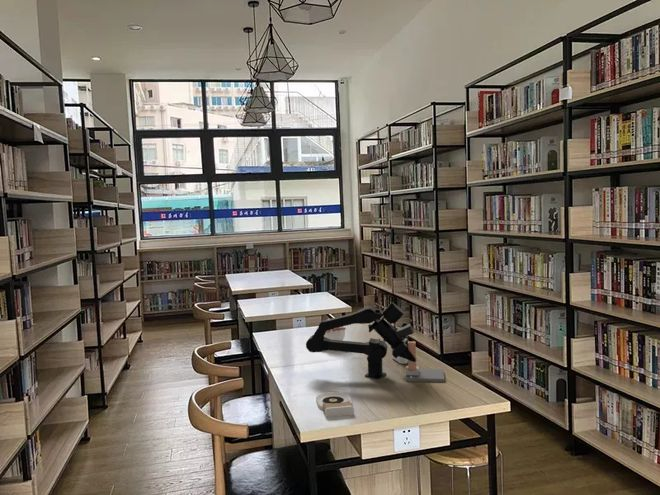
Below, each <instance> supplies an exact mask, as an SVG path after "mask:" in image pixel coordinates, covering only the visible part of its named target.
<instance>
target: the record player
mask: <svg viewBox="0 0 660 495" xmlns="http://www.w3.org/2000/svg"><path fill="white" fill-rule="evenodd" d="M315 402H316V405H317V407H318V409H320V410H322V411H323V413H324V415H325V418H333V417H341V416H353V415H355V408H354V407H353V401H352V399H351V397H350V395H349V394H348V393H345V392H339V391H329V392H324V393H320V394H318V395H317V396H316V397H315Z"/></svg>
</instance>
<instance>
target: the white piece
mask: <svg viewBox="0 0 660 495" xmlns="http://www.w3.org/2000/svg"><path fill="white" fill-rule="evenodd" d="M328 319H329V318H327V319H326V320H328ZM346 330H347V328H346V326H343V327H339V328H334V329H330V330H327V331H326V333H325V335H324V337H326V338H328V339H331V340H342V341H344V339H345V337H346Z"/></svg>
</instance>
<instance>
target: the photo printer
mask: <svg viewBox="0 0 660 495" xmlns="http://www.w3.org/2000/svg"><path fill="white" fill-rule="evenodd" d="M407 340H408V338H405V339H404V340H403V341H405V342H406V341H407ZM391 359H392V360H395V361H396V362H397V363H399V364H401V365H404V364H405V365H406V364H408V360H407V359H405V358H402V357H399V356H398V357H397V358H395V357H394V356H393V355H392V354H391Z"/></svg>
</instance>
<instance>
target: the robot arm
mask: <svg viewBox="0 0 660 495" xmlns="http://www.w3.org/2000/svg"><path fill="white" fill-rule="evenodd" d="M404 315H405V312H404V311H403V309H402V308H401V307H400V306H398V305H397V304H395V303H394V302H393V301H391V302H390V303H389V304H388V306H387V307H386V308H385V309H376V308H375V307H373V306H371V305H370V306H369V305H368V306H365V307H364V308H361V309H359V310H357V311H355V312H352V313H350V314H349V313H348V314H346V315H345V314H344V315H342V316H341V315H340V316H337V317H332V318H327V319H328V320H327V319H323V320H321V321H320V322H319V325H318V326H317V328H316V331H315V332H314V334H312V335H311V336H310V337H309V338H308V339H307V340H306V343H305V348H306V350H308V352H310V353H322V352H326V351H333V352H343V353H352V354H353V353H354V354H362V355H363V354H364V355H366V361H367V373H366V374H364V377H367V378H372V379H381V378H383V377H385V376H386V375H387V373H386V372H384V371H383V370H384V368H383V359H384V358H385V357H386V356H387V352H388V345H389V347H390V348H391V356H392V355H393V356H394V357H395V358H397V357H398V356H399V357H402V358H405V359H407V360H410V361H413V362H415V361H416V362H417V358H416V359H415V357H414V356H413V355H412V353H411V352H410V351H409V349H408V342H410V341H409V339H408V338H409V336H411V335H413V334H414V329H413V327H412V325H411V323H407V322H401V327H400V328H398V329H397V327H393V326H392V325H391V324H394V325H395V324H397V323H398V322H399V320H401V318H403V316H404ZM354 324H355V325H359V324H361V325H364V324H365V325H366V324H368V326H367V327H368V333H372V331H373V330H374V332H375V333H377V334H378V336H380V338H377V339H376V338H373V337H370V338H369V340H368V341H365V342H361V341H350V340H343V341H342V340H331V339H328V338H326V337H324V335H325V333H326V331H327V330H330V329H334V328H339V327H346V326H351V325H354ZM381 338H382V340H381ZM405 338H407V341H406V342H405V341H403V340H404V339H405ZM387 344H388V345H387Z"/></svg>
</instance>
